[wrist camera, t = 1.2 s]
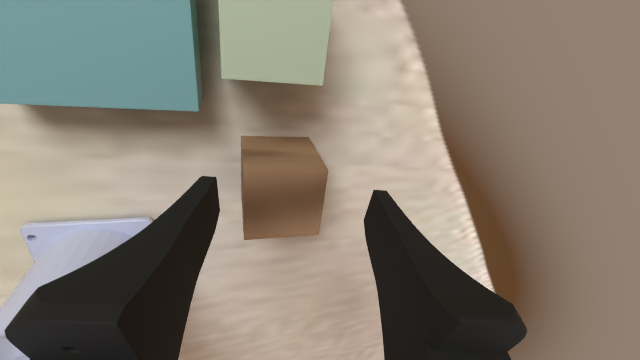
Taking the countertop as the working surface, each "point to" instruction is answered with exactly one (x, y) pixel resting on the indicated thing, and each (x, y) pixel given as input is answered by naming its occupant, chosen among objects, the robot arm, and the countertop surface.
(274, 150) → the walnut block
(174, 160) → the countertop surface
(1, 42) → the teal base block
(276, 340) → the countertop surface
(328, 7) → the sage block
